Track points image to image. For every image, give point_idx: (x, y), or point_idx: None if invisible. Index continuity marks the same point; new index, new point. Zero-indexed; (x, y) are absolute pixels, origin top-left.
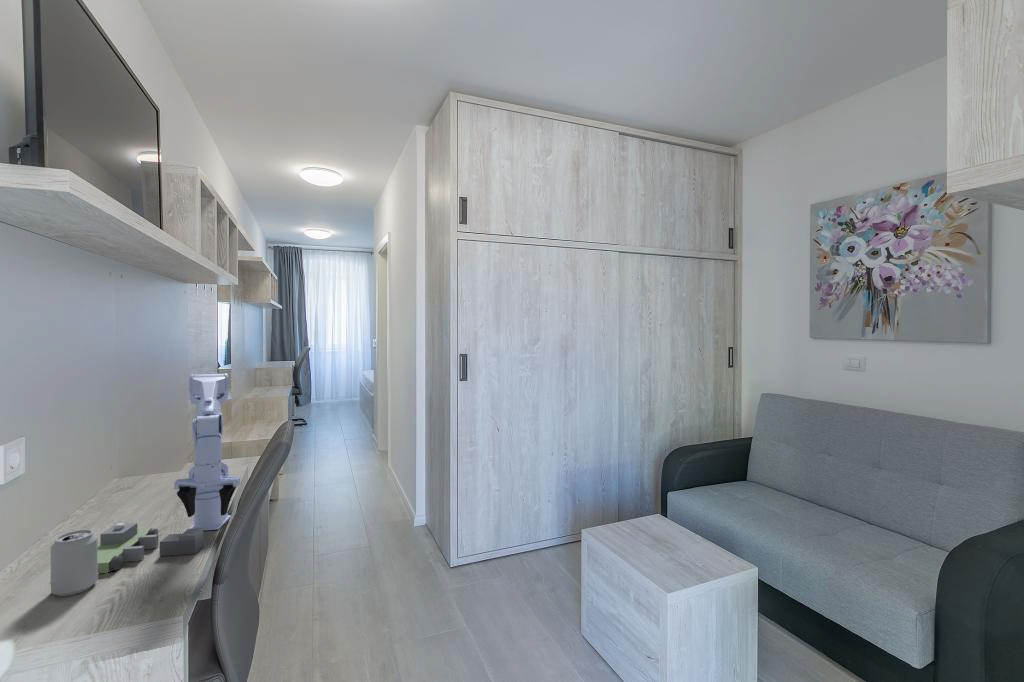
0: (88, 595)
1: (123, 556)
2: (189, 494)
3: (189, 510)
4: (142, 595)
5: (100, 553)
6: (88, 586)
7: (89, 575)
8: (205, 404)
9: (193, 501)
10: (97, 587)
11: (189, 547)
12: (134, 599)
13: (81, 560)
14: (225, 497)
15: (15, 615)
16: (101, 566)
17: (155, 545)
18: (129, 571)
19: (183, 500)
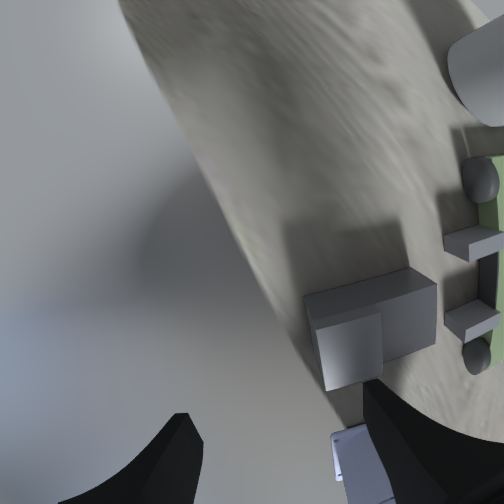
0: (421, 43)
1: (488, 228)
2: (423, 498)
3: (380, 404)
4: (273, 28)
5: None
6: (448, 63)
7: (465, 55)
8: None
9: (390, 468)
10: (437, 79)
11: (327, 301)
12: (278, 12)
13: (498, 24)
14: (102, 489)
15: (470, 5)
16: (496, 156)
17: (450, 316)
18: (432, 166)
19: (447, 439)
